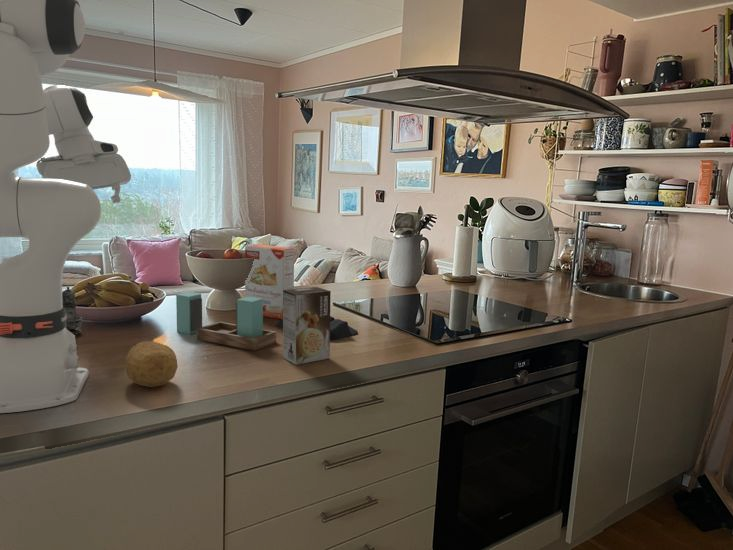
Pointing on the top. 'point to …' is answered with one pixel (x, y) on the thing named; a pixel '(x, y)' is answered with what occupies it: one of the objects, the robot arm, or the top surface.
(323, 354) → the grey cardboard box
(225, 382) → the top surface
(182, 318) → the tall teal pillar
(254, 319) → the turquoise rectangular block
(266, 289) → the cracker box
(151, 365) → the potato
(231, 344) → the wooden compartment tray
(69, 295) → the figurine
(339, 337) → the dark slate chunk
